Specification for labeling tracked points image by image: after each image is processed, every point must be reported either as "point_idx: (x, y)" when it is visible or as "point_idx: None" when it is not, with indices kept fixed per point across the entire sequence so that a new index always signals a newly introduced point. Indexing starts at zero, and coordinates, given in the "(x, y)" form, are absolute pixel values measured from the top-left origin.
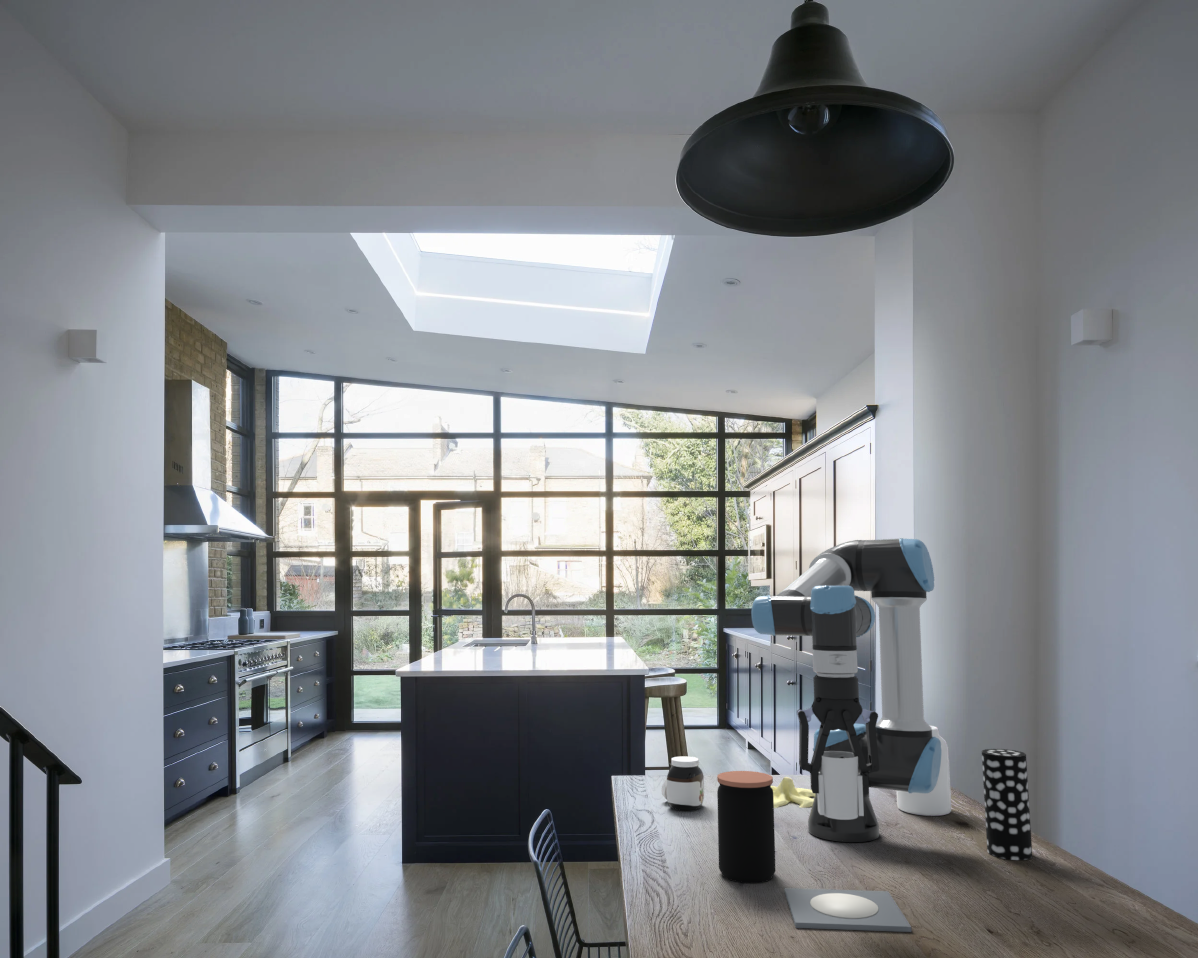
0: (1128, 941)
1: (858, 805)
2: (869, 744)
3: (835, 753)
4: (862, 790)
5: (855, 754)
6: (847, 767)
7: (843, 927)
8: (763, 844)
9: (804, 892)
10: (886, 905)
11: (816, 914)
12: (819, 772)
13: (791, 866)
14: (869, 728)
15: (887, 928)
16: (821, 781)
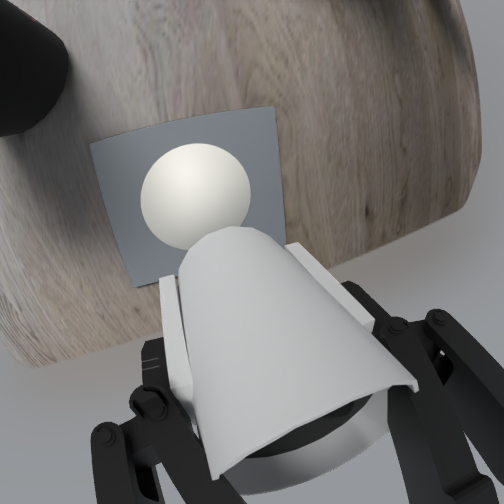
0: (446, 204)
1: None
2: (466, 423)
3: (329, 394)
4: None
5: (392, 434)
6: (321, 439)
7: None
8: (25, 109)
9: (125, 154)
10: (264, 174)
11: (156, 249)
12: (187, 393)
13: (103, 2)
14: (496, 472)
15: None
16: None
